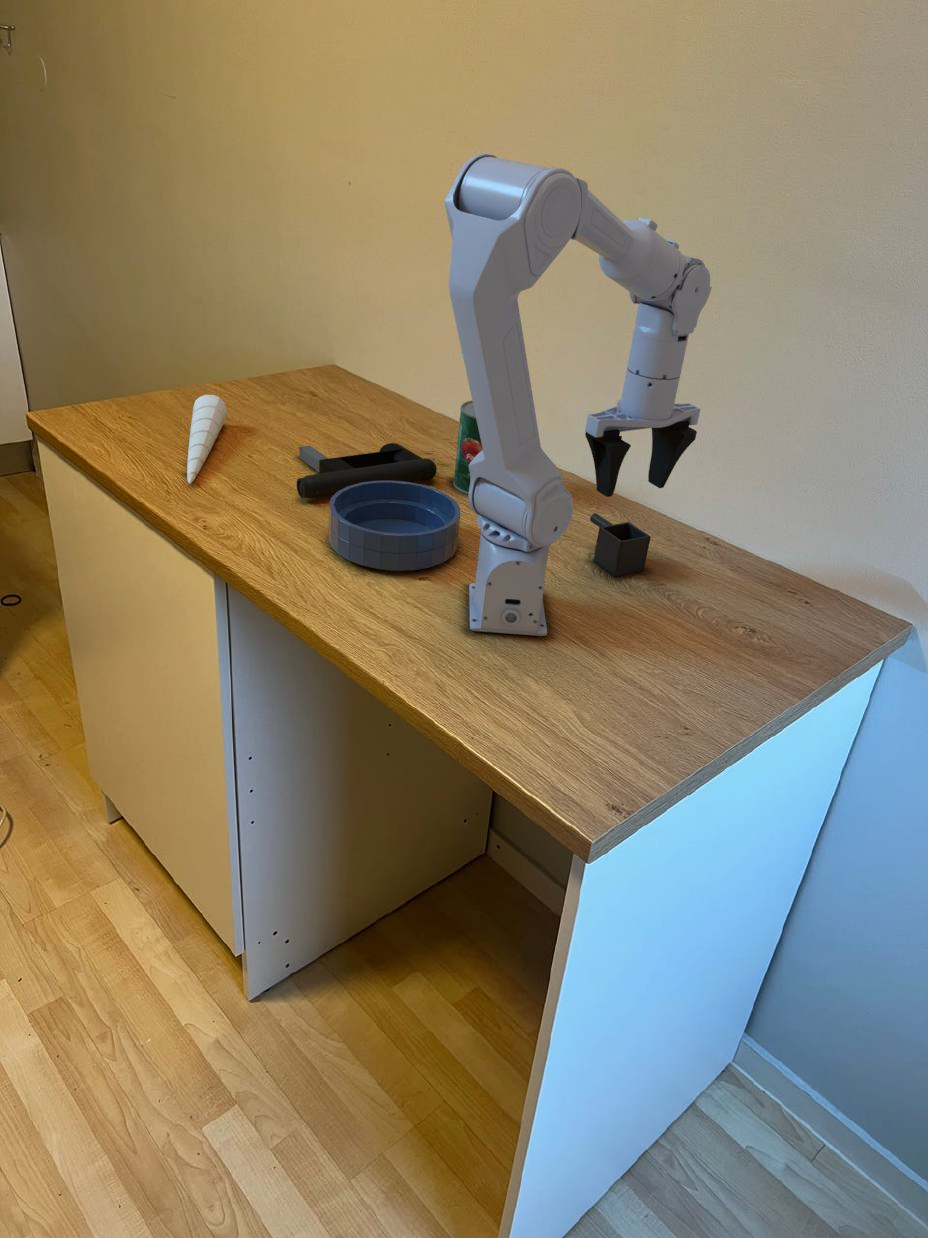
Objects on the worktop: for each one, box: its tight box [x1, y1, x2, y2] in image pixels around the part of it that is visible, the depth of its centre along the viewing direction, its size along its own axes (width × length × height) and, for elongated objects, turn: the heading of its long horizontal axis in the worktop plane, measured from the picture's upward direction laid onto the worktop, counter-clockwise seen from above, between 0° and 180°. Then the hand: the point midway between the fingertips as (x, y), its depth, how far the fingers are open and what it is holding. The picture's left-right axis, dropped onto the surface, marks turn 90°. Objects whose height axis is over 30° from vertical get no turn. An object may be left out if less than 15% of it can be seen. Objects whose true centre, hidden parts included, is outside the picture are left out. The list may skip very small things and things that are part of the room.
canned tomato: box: [452, 399, 483, 495], centre depth 126 cm, size 8×8×11 cm
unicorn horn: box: [186, 394, 228, 485], centre depth 128 cm, size 5×24×5 cm, turn 3°
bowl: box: [327, 481, 461, 572], centre depth 110 cm, size 15×15×5 cm
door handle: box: [296, 442, 438, 500], centre depth 127 cm, size 3×20×16 cm
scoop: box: [589, 512, 652, 578], centre depth 112 cm, size 8×4×5 cm, turn 30°
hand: (630, 488), depth 107 cm, fingers open, 7 cm apart
